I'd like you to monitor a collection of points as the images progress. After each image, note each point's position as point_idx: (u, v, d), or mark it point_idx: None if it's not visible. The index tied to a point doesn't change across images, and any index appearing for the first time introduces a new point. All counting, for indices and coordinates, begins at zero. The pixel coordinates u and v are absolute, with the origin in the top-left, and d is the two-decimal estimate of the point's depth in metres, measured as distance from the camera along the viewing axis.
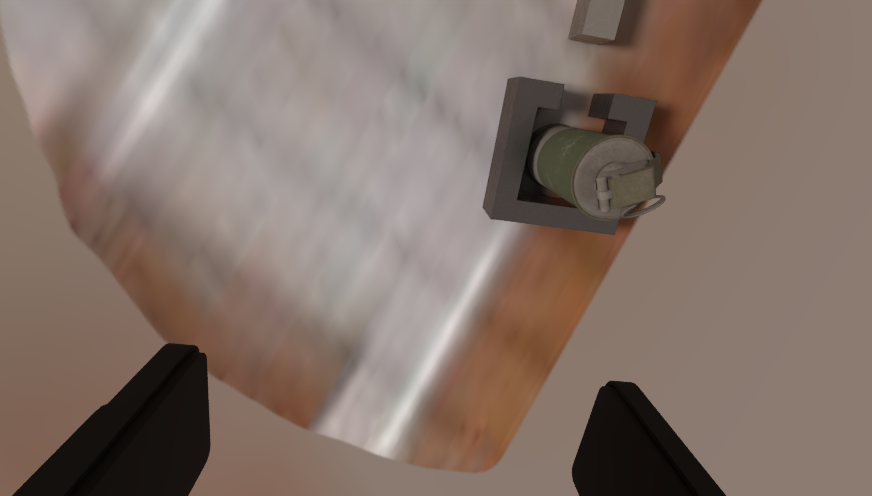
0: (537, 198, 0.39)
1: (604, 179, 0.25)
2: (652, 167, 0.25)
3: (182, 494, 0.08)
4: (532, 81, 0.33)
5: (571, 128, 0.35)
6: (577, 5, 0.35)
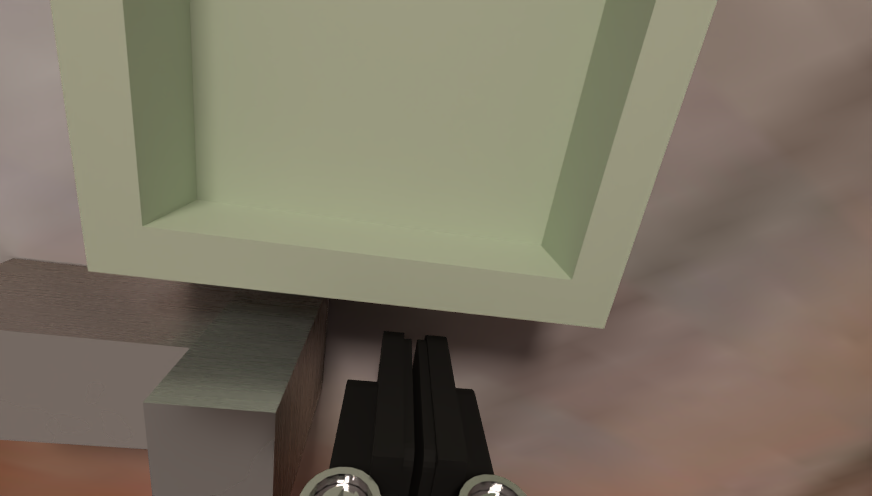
0: None
1: None
2: None
3: None
4: None
5: None
6: (110, 275, 0.10)
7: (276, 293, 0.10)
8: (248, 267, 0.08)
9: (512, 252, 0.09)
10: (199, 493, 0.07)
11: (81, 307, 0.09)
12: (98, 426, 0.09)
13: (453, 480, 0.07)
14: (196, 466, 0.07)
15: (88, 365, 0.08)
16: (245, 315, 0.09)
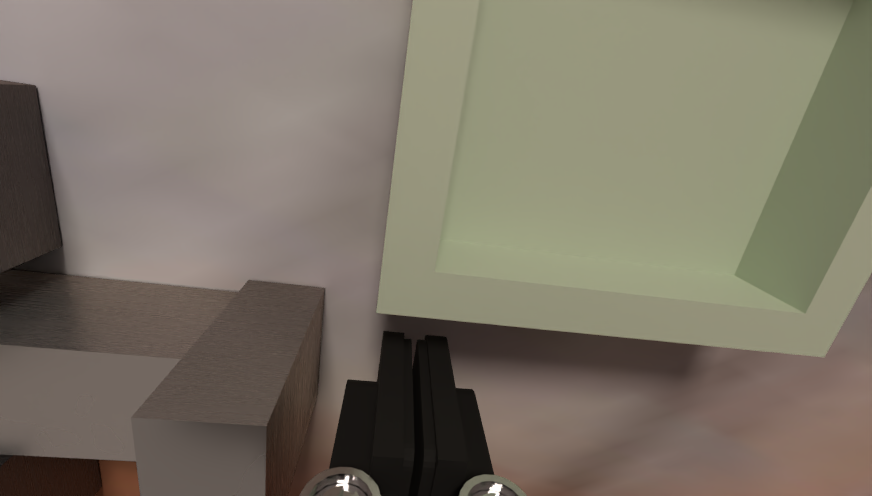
0: None
1: None
2: None
3: None
4: None
5: None
6: (101, 285, 0.10)
7: (269, 301, 0.10)
8: (519, 307, 0.08)
9: (724, 284, 0.10)
10: None
11: (71, 318, 0.09)
12: (89, 439, 0.09)
13: (453, 480, 0.07)
14: (186, 481, 0.07)
15: (78, 377, 0.08)
16: (237, 324, 0.09)
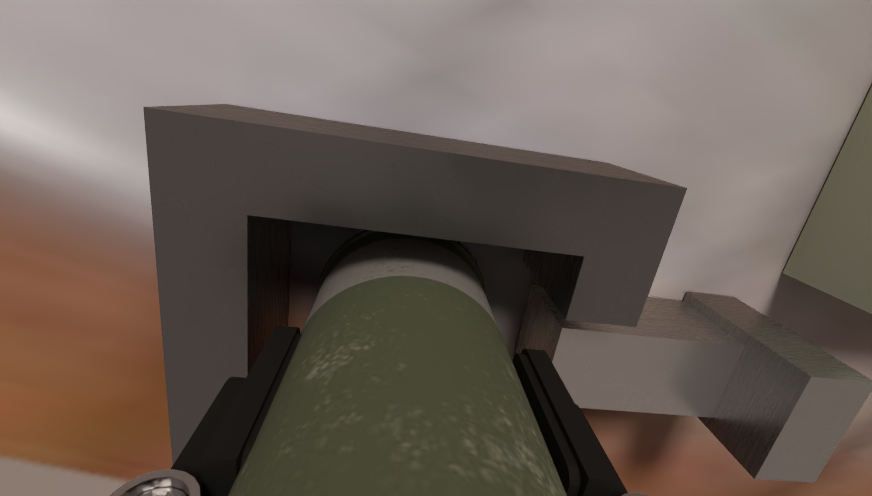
0: (274, 280, 0.12)
1: None
2: None
3: None
4: (663, 231, 0.10)
5: None
6: None
7: (727, 307, 0.14)
8: None
9: None
10: (804, 434, 0.11)
11: None
12: (654, 399, 0.13)
13: None
14: (814, 417, 0.11)
15: (671, 357, 0.13)
16: (745, 323, 0.13)
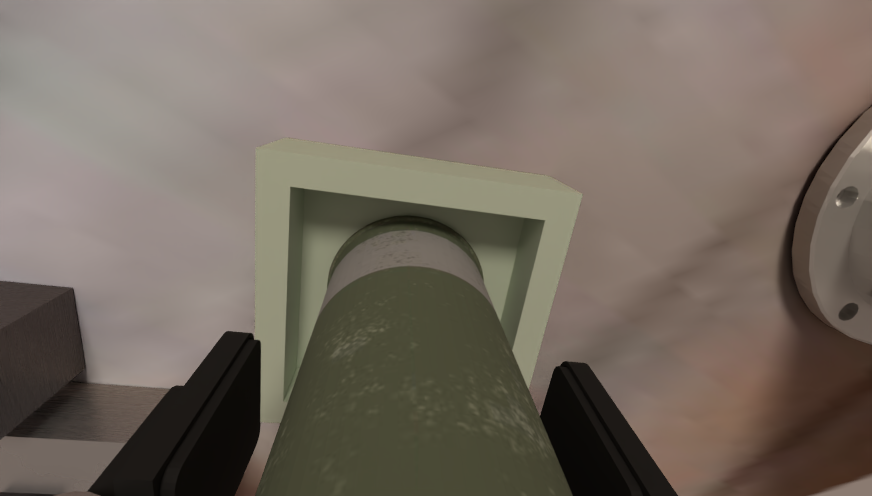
0: None
1: None
2: None
3: (241, 470, 0.09)
4: None
5: None
6: (108, 390, 0.17)
7: None
8: None
9: None
10: None
11: (92, 418, 0.16)
12: None
13: None
14: None
15: (97, 454, 0.15)
16: None
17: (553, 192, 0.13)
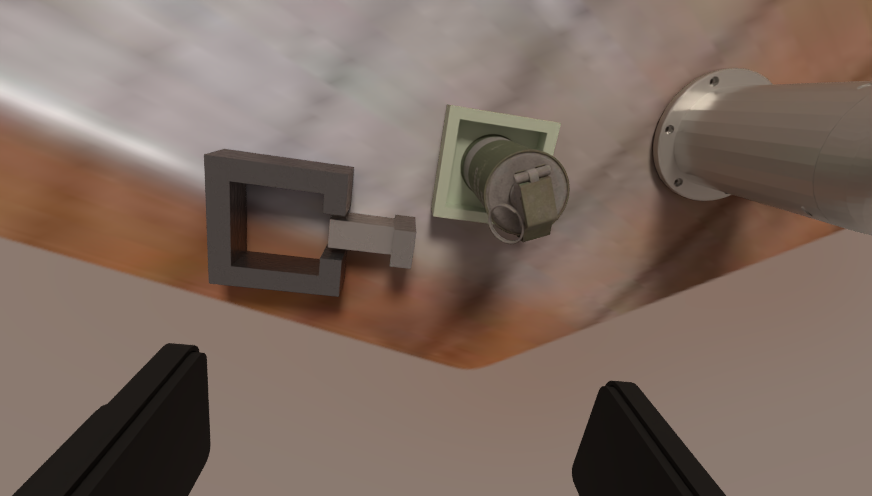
0: (239, 204, 0.38)
1: (549, 171, 0.25)
2: (557, 218, 0.26)
3: (182, 494, 0.08)
4: (345, 186, 0.36)
5: None
6: (360, 215, 0.41)
7: (403, 218, 0.40)
8: (463, 215, 0.38)
9: None
10: (400, 250, 0.37)
11: (362, 220, 0.39)
12: (368, 246, 0.39)
13: None
14: (400, 243, 0.37)
15: (369, 230, 0.39)
16: (400, 221, 0.39)
17: (550, 122, 0.36)
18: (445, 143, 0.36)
